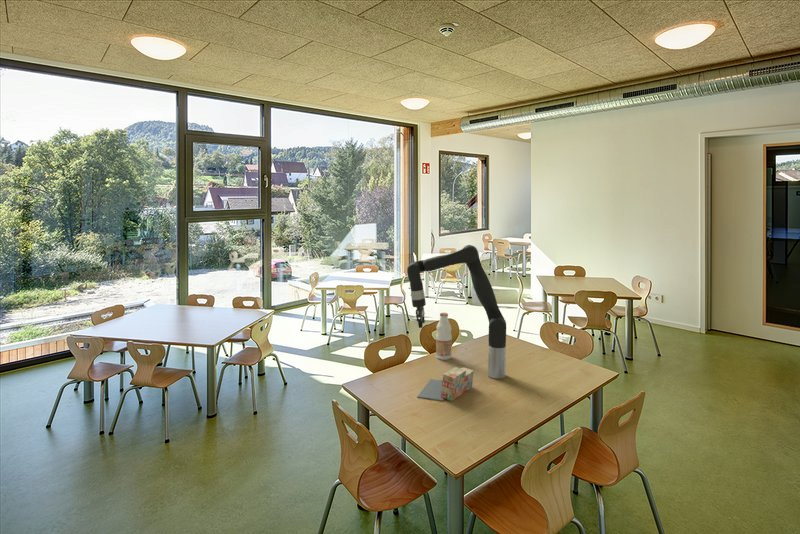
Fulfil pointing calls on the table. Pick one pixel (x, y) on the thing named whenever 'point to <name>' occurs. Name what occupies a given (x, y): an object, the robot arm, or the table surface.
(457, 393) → the patterned cardboard box
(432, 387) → the mat
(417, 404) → the table surface
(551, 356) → the table surface
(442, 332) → the fruit juice
